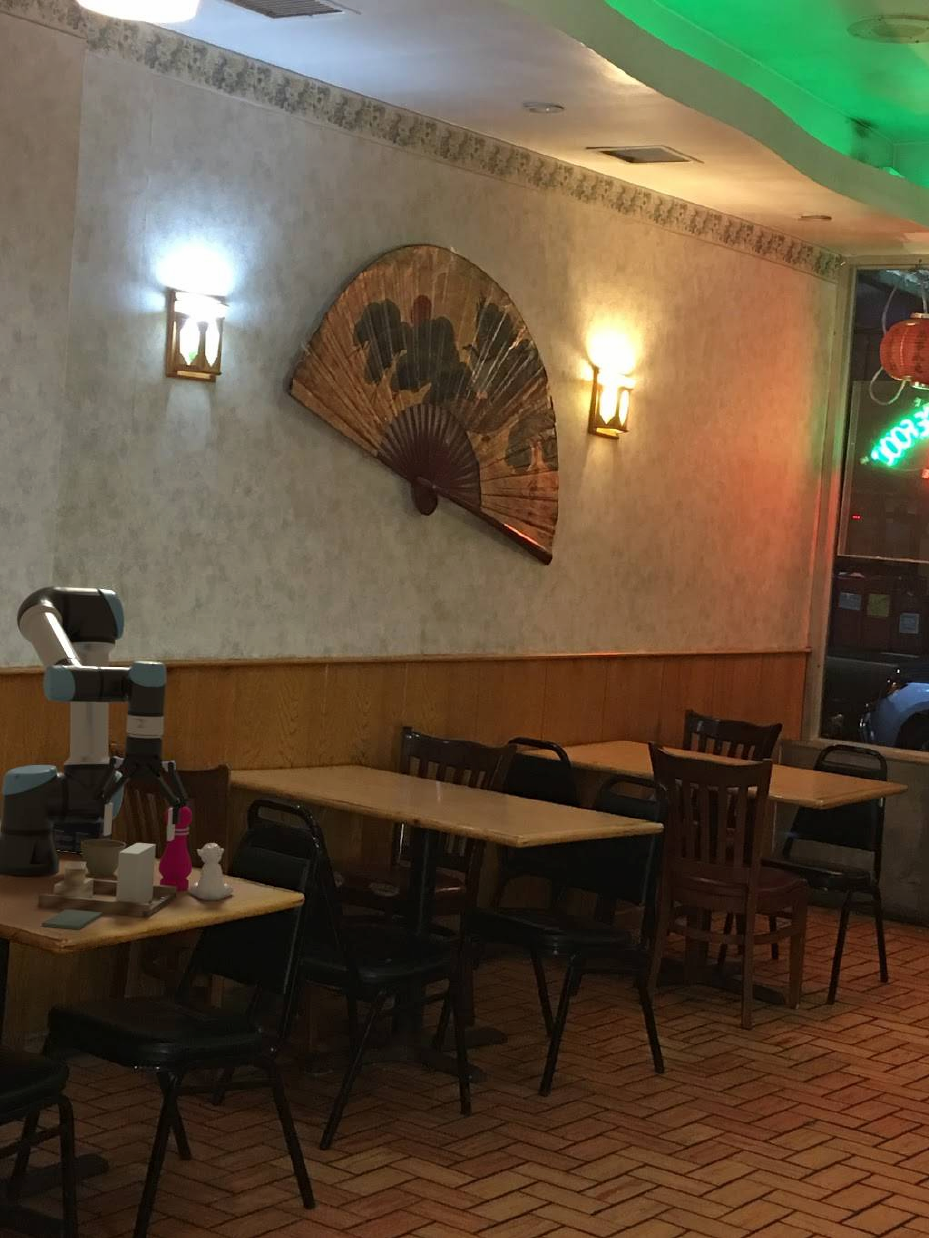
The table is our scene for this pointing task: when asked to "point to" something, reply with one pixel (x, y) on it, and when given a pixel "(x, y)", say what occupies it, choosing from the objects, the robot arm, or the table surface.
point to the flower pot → (101, 856)
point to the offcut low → (75, 889)
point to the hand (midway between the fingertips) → (138, 837)
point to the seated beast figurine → (211, 875)
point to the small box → (77, 835)
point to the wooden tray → (109, 905)
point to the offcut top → (75, 873)
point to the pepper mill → (177, 854)
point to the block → (136, 873)
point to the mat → (72, 919)
